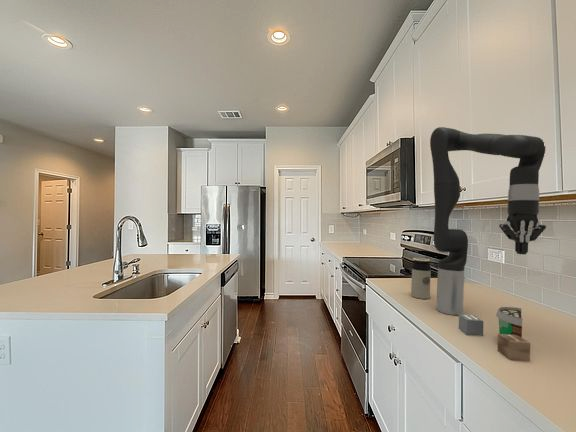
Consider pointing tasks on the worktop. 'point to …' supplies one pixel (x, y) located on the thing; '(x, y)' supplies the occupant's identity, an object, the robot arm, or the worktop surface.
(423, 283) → the travel mug
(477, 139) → the robot arm
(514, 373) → the worktop surface
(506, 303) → the worktop surface
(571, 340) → the worktop surface
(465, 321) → the slate block
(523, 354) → the walnut block
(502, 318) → the food container
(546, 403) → the worktop surface
